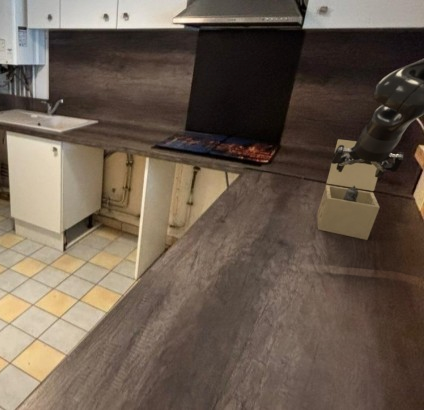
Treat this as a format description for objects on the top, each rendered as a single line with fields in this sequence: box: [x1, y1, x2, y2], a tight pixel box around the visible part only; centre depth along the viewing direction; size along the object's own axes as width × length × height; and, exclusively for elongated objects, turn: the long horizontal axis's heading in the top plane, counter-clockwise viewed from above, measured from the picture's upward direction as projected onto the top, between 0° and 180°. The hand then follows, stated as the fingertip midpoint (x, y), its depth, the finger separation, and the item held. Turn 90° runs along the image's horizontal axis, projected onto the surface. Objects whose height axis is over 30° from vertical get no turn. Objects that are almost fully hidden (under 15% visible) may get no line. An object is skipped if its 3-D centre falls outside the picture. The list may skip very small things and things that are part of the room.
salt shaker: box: [342, 186, 359, 202], centre depth 103 cm, size 6×6×12 cm
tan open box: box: [316, 184, 381, 241], centre depth 104 cm, size 13×12×10 cm
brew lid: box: [326, 138, 379, 192], centre depth 108 cm, size 14×12×4 cm
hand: (358, 171), depth 101 cm, fingers open, 8 cm apart
